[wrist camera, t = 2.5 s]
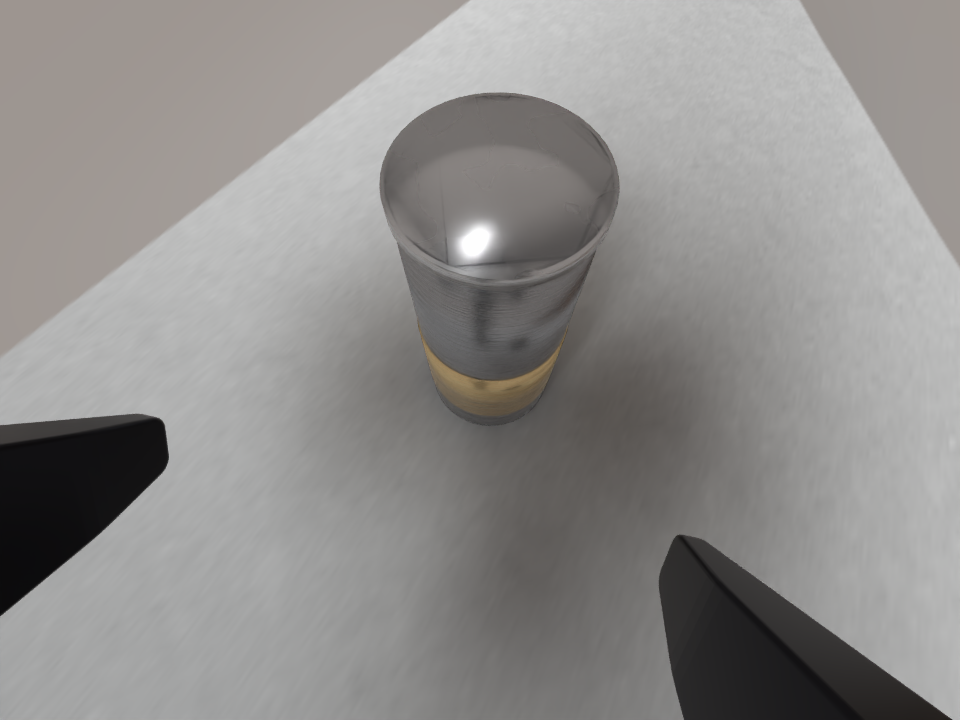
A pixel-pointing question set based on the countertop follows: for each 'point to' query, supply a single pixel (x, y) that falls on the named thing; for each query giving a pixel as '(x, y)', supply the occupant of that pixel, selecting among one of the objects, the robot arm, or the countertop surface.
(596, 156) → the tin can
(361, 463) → the countertop surface
